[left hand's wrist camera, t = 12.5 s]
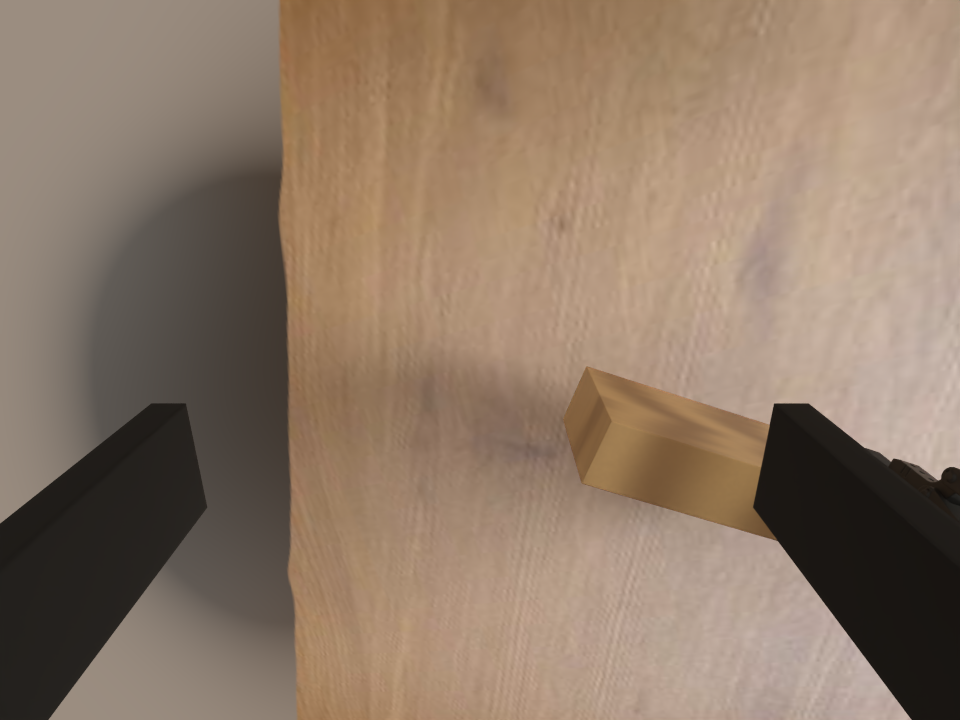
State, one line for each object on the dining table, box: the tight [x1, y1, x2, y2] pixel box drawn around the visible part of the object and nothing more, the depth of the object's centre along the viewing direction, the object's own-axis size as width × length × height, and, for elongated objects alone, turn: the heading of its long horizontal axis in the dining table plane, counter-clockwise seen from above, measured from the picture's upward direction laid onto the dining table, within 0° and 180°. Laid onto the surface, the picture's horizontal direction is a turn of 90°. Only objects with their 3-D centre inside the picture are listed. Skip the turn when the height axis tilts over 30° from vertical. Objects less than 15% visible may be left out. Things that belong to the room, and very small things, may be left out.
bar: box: [563, 367, 778, 541], centre depth 38 cm, size 25×4×8 cm, turn 71°
